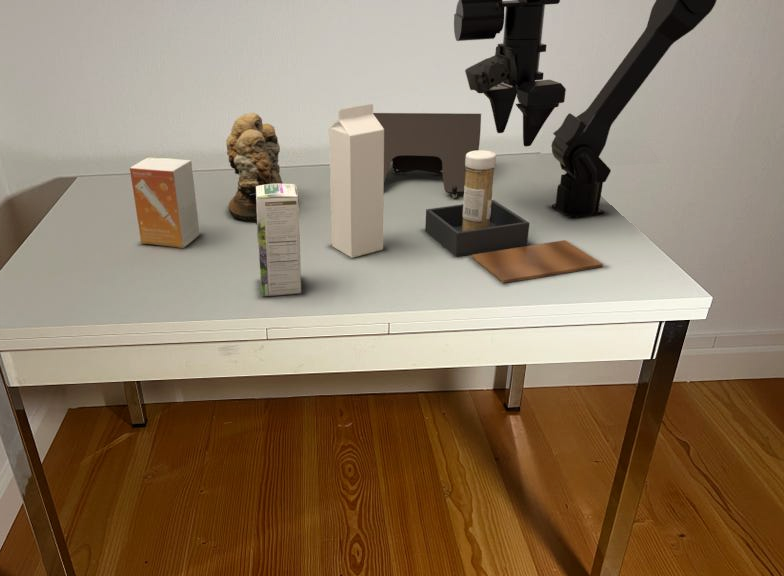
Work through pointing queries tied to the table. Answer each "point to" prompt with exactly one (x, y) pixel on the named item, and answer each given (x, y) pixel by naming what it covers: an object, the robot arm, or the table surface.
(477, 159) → the sprinkles bottle
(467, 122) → the laptop tray
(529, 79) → the robot arm
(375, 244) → the milk
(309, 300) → the table surface
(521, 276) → the brown wooden board
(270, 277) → the syrup box
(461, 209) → the bin
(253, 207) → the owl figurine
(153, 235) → the small box
